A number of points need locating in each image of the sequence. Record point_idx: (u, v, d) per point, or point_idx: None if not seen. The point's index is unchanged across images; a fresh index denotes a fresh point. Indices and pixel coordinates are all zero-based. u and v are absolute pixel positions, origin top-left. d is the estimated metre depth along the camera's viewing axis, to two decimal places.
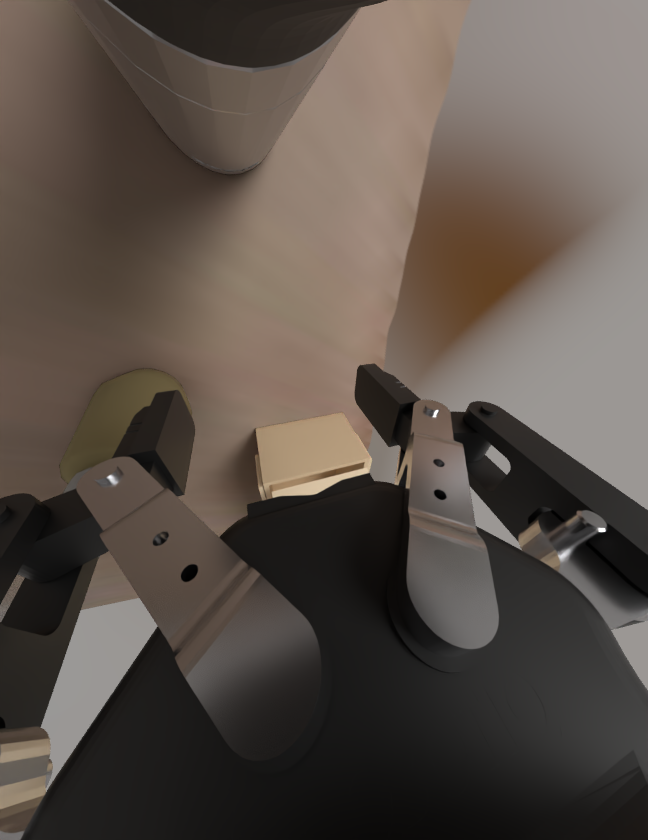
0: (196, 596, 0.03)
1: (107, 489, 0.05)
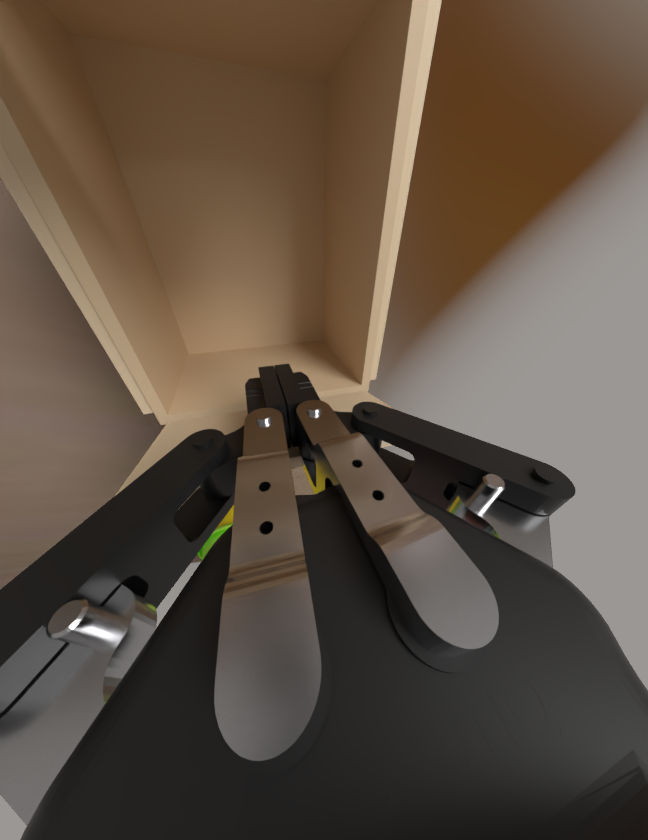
0: (260, 550, 0.04)
1: (271, 427, 0.07)
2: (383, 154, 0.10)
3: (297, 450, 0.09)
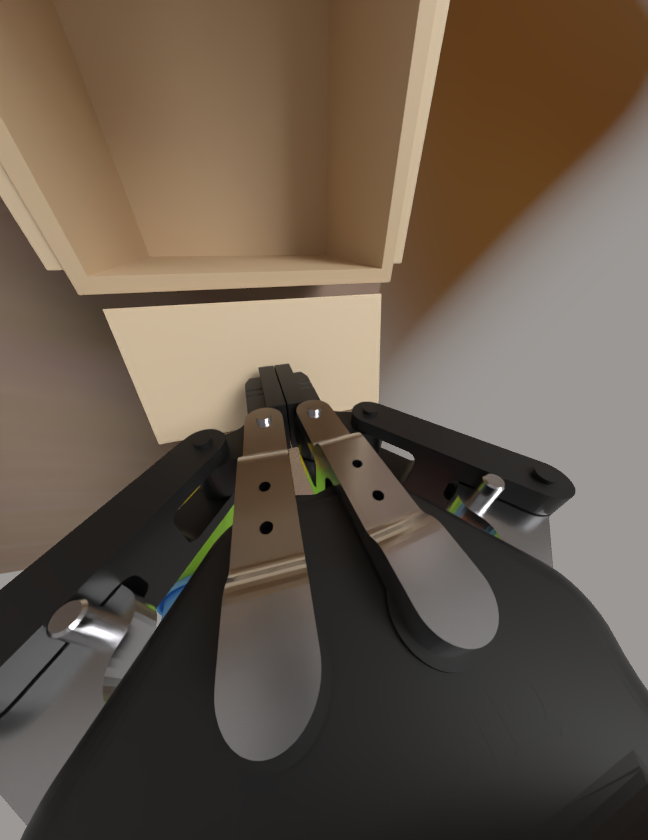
0: (260, 550, 0.04)
1: (271, 427, 0.07)
2: None
3: None
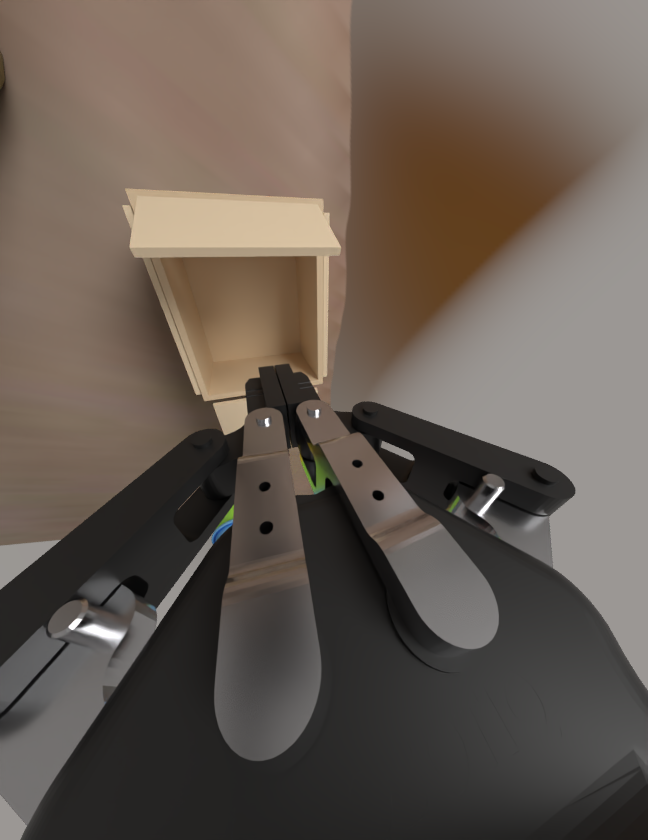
0: (260, 550, 0.04)
1: (271, 427, 0.07)
2: (314, 270, 0.22)
3: None
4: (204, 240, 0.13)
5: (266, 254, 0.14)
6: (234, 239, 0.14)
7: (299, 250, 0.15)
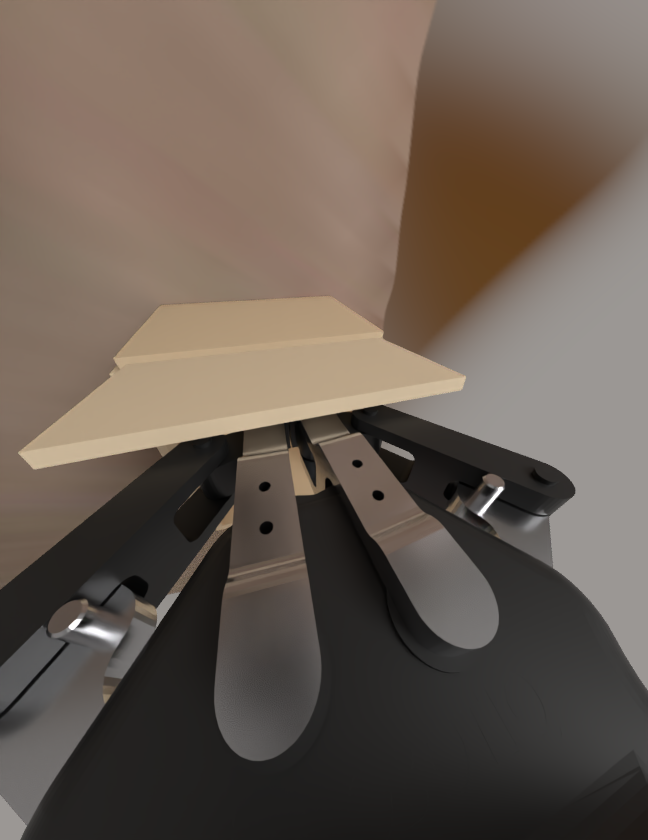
0: (260, 550, 0.04)
1: (271, 427, 0.07)
2: None
3: None
4: (207, 407, 0.06)
5: (331, 410, 0.07)
6: (268, 395, 0.07)
7: (393, 393, 0.07)
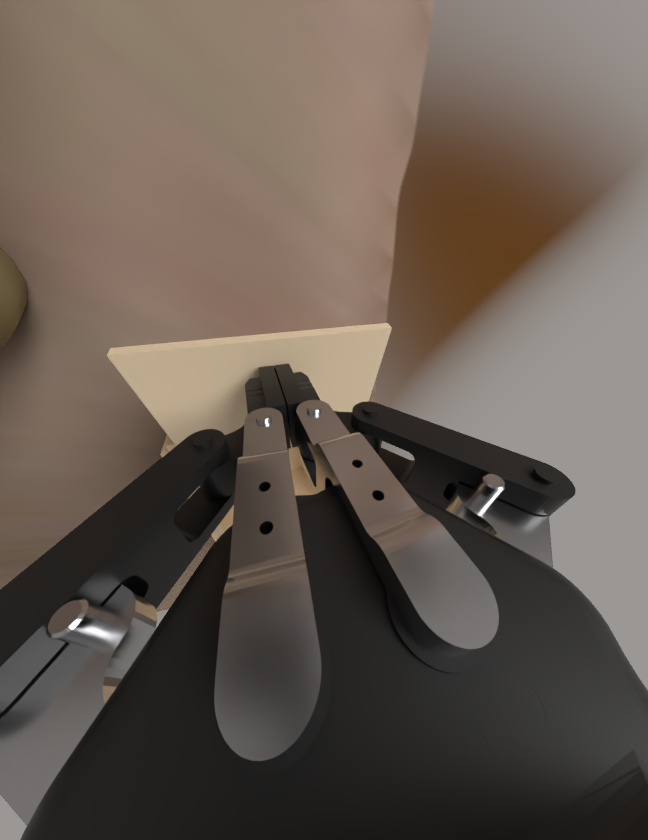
0: (260, 550, 0.04)
1: (271, 427, 0.07)
2: None
3: None
4: None
5: (295, 336, 0.10)
6: None
7: (337, 329, 0.11)
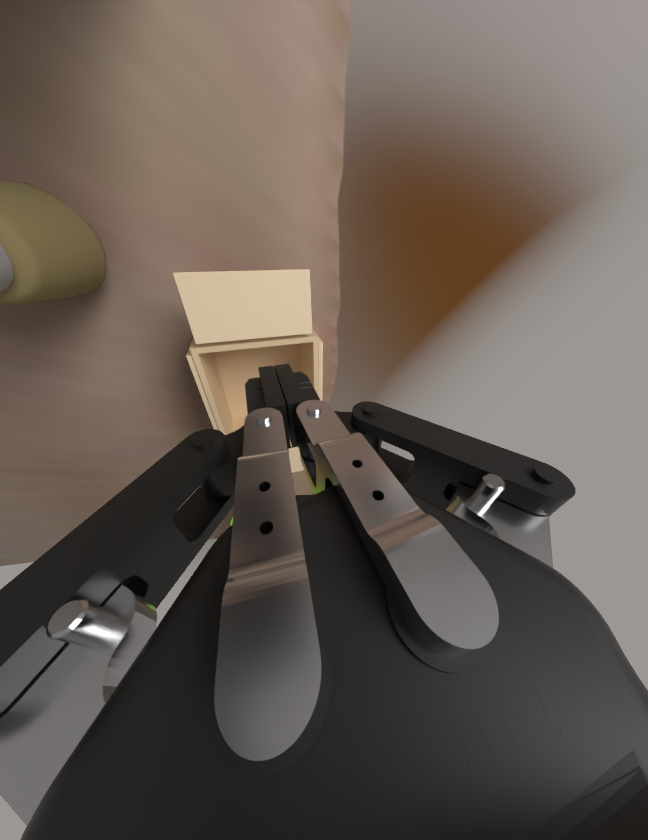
0: (260, 550, 0.04)
1: (271, 427, 0.07)
2: (312, 372, 0.30)
3: None
4: None
5: None
6: None
7: (280, 270, 0.22)
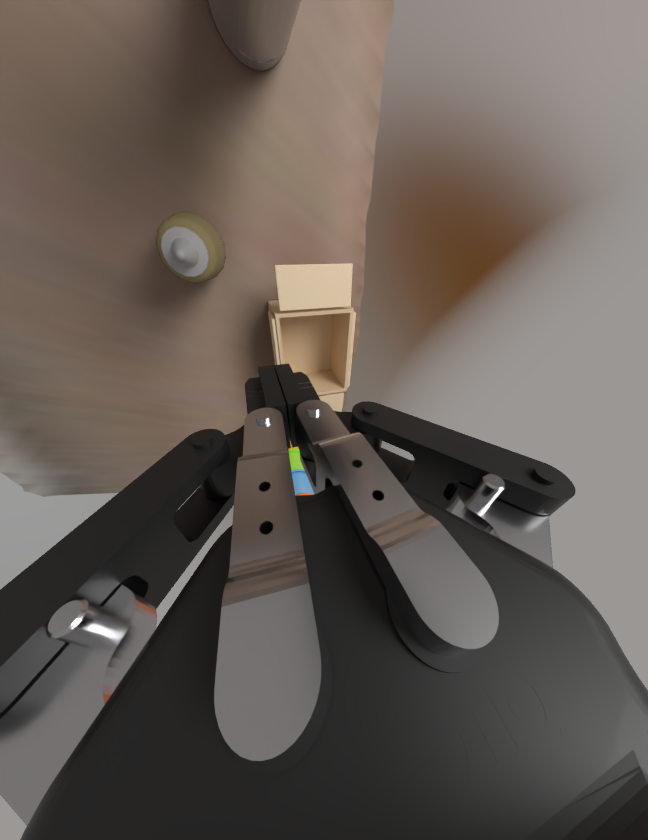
0: (259, 550, 0.04)
1: (271, 427, 0.07)
2: (346, 335, 0.44)
3: None
4: None
5: (322, 264, 0.35)
6: None
7: (334, 264, 0.35)
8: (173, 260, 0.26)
